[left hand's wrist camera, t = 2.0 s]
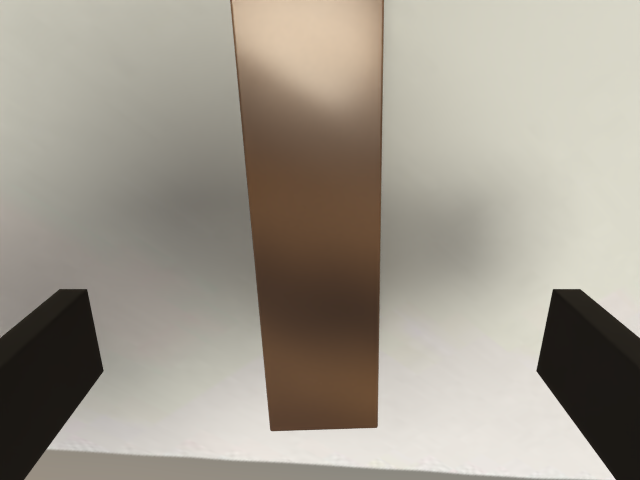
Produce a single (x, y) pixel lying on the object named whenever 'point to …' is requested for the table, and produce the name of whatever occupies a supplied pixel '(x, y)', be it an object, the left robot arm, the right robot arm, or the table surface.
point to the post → (314, 201)
